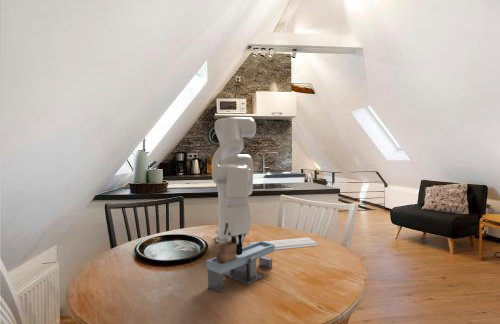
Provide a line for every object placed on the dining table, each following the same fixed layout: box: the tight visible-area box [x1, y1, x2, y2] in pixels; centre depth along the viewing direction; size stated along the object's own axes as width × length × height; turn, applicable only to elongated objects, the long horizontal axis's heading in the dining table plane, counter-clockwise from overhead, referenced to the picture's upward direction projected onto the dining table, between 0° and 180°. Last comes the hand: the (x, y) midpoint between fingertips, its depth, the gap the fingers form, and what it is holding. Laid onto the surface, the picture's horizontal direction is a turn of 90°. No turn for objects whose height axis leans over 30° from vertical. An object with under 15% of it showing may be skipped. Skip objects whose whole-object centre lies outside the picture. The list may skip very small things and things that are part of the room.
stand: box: [207, 255, 273, 293], centre depth 111 cm, size 12×28×8 cm, turn 138°
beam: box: [205, 240, 276, 274], centre depth 111 cm, size 8×28×3 cm, turn 138°
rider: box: [216, 241, 236, 264], centre depth 104 cm, size 4×5×6 cm
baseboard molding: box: [248, 237, 320, 251], centre depth 146 cm, size 31×3×12 cm
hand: (237, 253), depth 108 cm, fingers closed
